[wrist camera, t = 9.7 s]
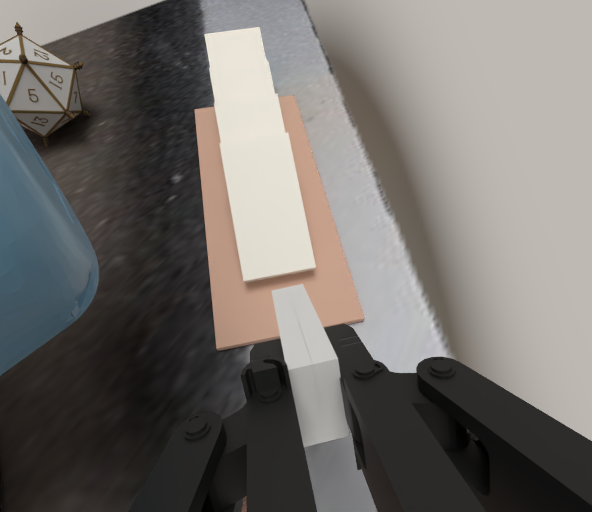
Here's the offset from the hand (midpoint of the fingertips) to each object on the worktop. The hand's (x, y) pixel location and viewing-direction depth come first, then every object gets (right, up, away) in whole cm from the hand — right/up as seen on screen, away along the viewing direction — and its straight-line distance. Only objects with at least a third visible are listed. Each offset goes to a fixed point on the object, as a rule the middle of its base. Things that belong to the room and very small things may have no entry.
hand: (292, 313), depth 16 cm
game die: (-23, +16, +18) cm, 33 cm away
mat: (-2, +8, +13) cm, 15 cm away
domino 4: (-1, +1, +8) cm, 8 cm away
